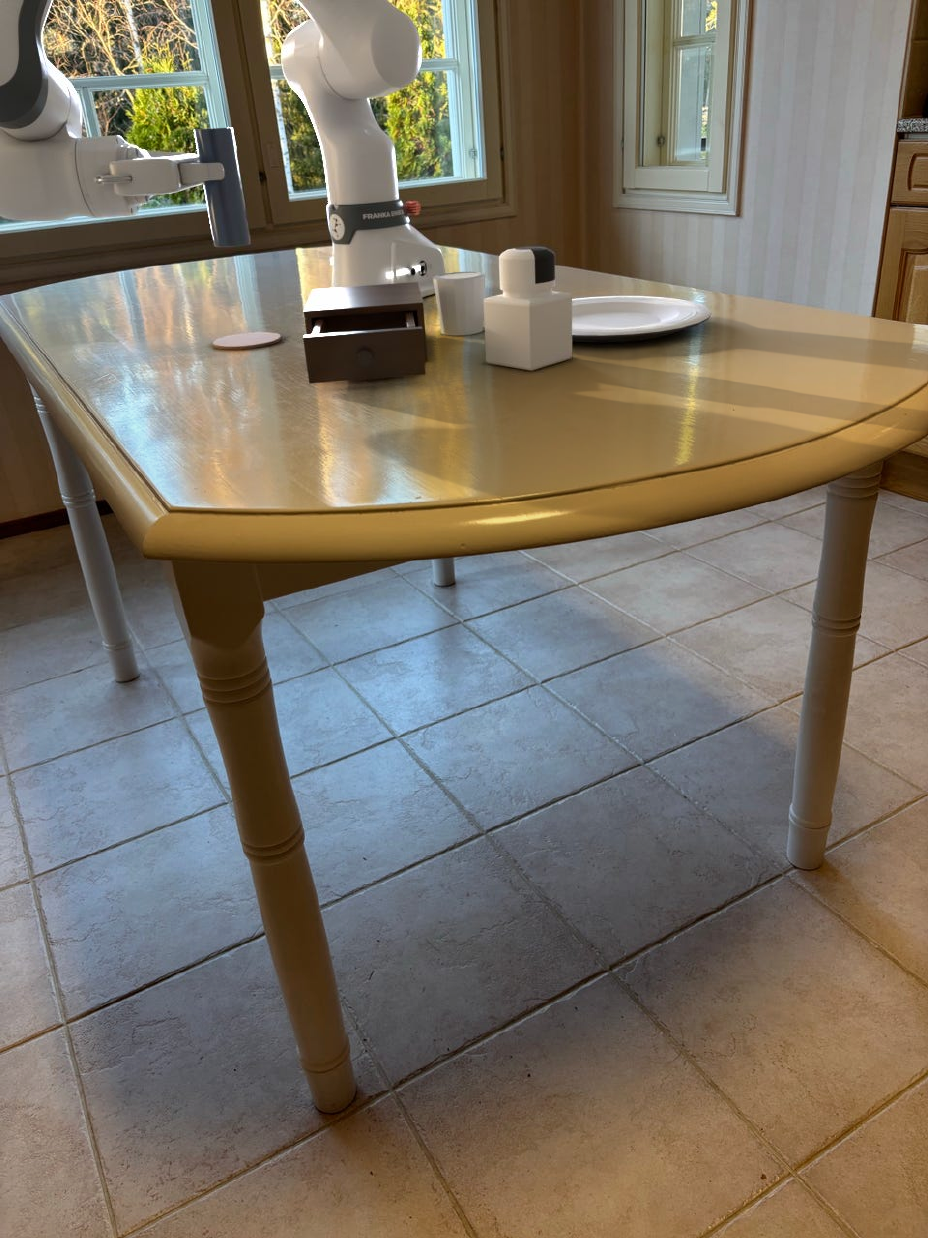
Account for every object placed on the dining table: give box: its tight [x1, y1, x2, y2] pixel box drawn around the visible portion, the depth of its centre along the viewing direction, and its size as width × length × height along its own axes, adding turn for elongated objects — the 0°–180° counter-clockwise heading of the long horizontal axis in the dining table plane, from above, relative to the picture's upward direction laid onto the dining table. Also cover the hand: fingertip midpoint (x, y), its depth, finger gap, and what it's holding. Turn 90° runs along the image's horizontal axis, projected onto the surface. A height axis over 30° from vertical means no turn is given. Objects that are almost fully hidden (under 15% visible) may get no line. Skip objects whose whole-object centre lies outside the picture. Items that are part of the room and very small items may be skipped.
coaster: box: [212, 331, 282, 351], centre depth 120 cm, size 9×9×1 cm
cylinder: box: [193, 127, 252, 248], centre depth 111 cm, size 5×5×13 cm
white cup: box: [433, 271, 486, 336], centre depth 117 cm, size 7×7×7 cm
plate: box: [572, 295, 712, 344], centre depth 115 cm, size 25×25×2 cm
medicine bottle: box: [483, 246, 573, 372], centre depth 99 cm, size 7×7×12 cm
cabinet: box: [302, 282, 428, 362], centre depth 110 cm, size 16×14×7 cm
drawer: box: [302, 311, 427, 384], centre depth 100 cm, size 16×12×5 cm
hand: (227, 169), depth 110 cm, fingers closed on cylinder, 4 cm apart
